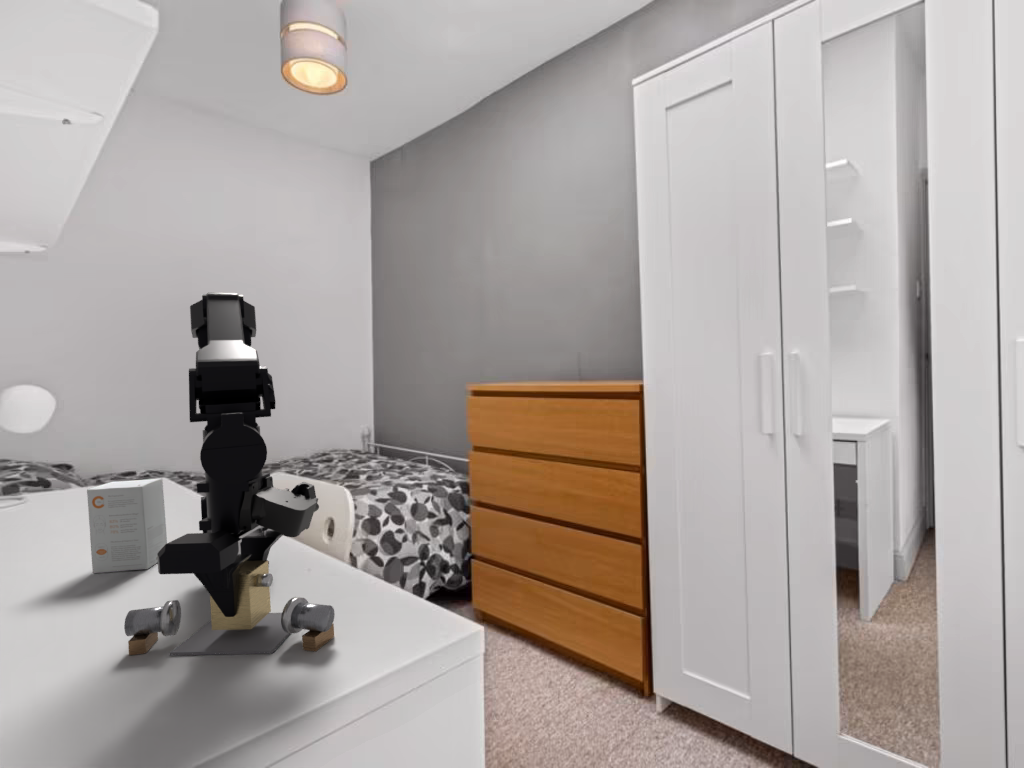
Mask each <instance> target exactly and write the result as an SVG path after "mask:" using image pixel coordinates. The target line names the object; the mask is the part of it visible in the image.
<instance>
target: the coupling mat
mask: <svg viewBox="0 0 1024 768" xmlns="http://www.w3.org/2000/svg"><path fill="white" fill-rule="evenodd" d="M281 616H282V612H269V613H268V614H267V615H266V616H265V617H264V618H263V619H262V620H261V621H260V622H259V623H258V624H257V625H255V626H254V627H253V628H252V629H237V630H212V622H211V619H210V620H209V621H208V622H206V623H205V624H204V625H203V626H202V627H200V628H198V630H197V631H195V632H194V633H193V634H191V635H190V636H189V637H187V638H185V640H183V642H180V644H179V645H178V646H175V648H173V649H172V650H171V651H169V656H199V655H200V656H203V655H204V656H205V655H206V656H207V655H210V656H211V655H247V654H248V655H252V654H253V655H255V654H273V653H274V652H275V651H276V650H277V649H278V648H279V647H280V646H281V645H282V643H283V642H284V641H285V640H286V639H287V638H288V636H290V635H291V633H287V632H285V631H284V630H283V628H282V625H281Z"/></svg>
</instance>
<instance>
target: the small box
mask: <svg viewBox="0 0 1024 768" xmlns="http://www.w3.org/2000/svg"><path fill="white" fill-rule="evenodd" d="M163 481H164V480H163V478H153V479H137V480H134V479H133V480H122V481H121V480H120V481H119V480H118V481H111V482H110V481H109V482H106V483H104V484H100V485H98V486H94V487H91V488H87V490H86V495H87V496H86V497H87V508H88V522H89V523H88V524H89V535H90V536H89V537H90V538H89V539H90V552H91V553H90V555H91V562H92V563H91V566H92V567H91V568H92V573H93V574H101V573H113V572H127V571H137V570H139V571H140V570H148V569H150V568H152V567H153V566H155V565H156V564H158V557H157V553H158V552H159V551H160V550H161V549H162V548H163V547H164V546H165V544H167V543H168V538H167V524H166V523H167V522H166V509H165V508H166V507H165V496H164V495H165V493H164V485H163V484H164V483H163Z"/></svg>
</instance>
